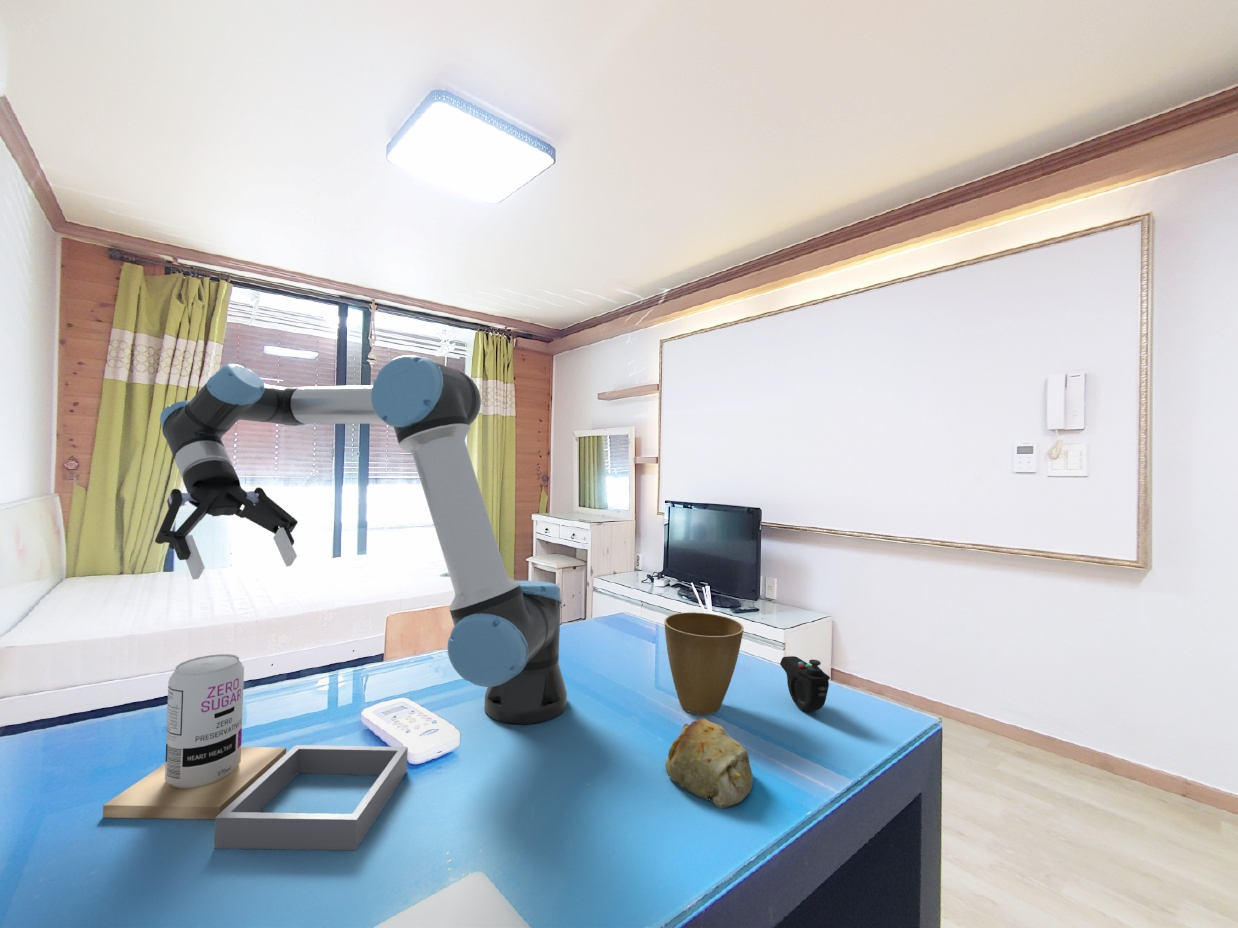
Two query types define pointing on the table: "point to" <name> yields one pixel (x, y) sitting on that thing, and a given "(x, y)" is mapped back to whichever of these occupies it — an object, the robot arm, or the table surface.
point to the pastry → (710, 764)
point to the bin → (311, 830)
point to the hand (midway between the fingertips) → (248, 567)
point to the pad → (191, 791)
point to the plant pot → (702, 658)
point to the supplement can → (204, 720)
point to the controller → (806, 682)
